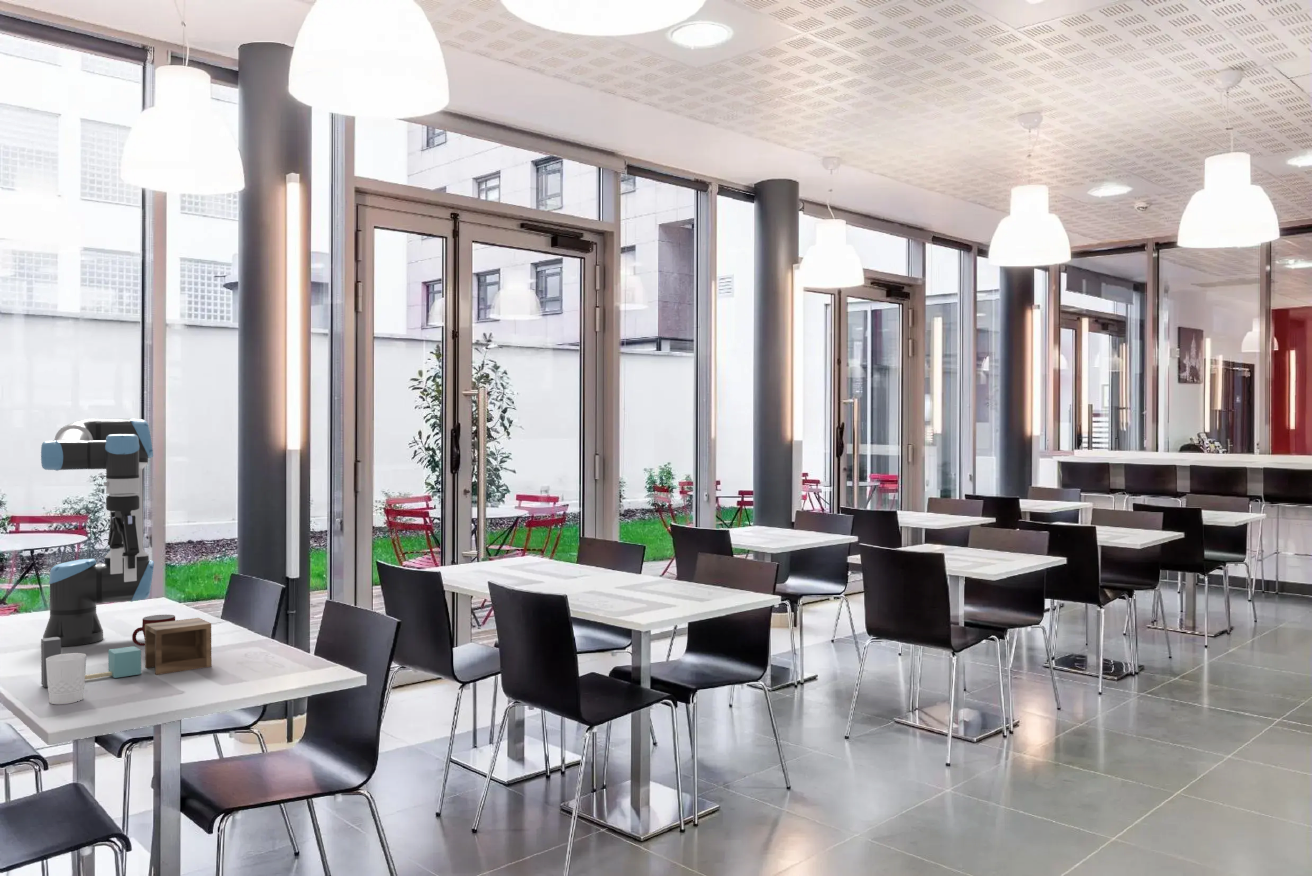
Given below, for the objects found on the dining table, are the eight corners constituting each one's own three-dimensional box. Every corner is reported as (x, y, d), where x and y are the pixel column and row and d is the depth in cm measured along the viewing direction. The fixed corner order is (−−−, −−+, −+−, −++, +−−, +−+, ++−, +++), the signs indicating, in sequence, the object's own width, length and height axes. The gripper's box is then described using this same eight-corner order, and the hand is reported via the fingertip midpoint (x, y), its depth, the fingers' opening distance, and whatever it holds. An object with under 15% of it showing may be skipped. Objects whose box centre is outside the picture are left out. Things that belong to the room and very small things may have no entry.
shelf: (145, 667, 257) (144, 624, 257) (198, 659, 266) (198, 617, 266) (156, 674, 250) (156, 630, 250) (211, 666, 258) (211, 623, 258)
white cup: (57, 696, 230) (57, 653, 230) (92, 695, 231) (92, 652, 230) (39, 706, 222) (38, 661, 222) (76, 705, 223) (75, 660, 223)
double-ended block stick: (40, 683, 240) (40, 638, 240) (134, 669, 254) (134, 626, 254) (45, 688, 236) (45, 642, 236) (141, 674, 249) (140, 630, 249)
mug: (132, 659, 266) (132, 622, 266) (132, 653, 274) (131, 617, 273) (176, 655, 272) (176, 618, 271) (174, 649, 279) (174, 613, 278)
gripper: (94, 491, 261) (95, 572, 262) (119, 499, 242) (119, 586, 243) (126, 490, 266) (126, 569, 267) (152, 498, 247) (153, 582, 248)
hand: (123, 577), depth 255 cm, fingers open, 13 cm apart
